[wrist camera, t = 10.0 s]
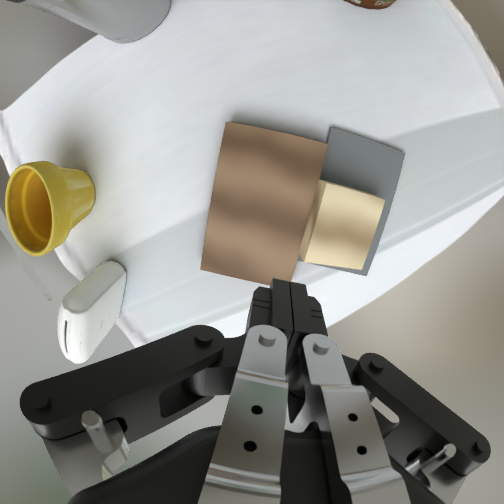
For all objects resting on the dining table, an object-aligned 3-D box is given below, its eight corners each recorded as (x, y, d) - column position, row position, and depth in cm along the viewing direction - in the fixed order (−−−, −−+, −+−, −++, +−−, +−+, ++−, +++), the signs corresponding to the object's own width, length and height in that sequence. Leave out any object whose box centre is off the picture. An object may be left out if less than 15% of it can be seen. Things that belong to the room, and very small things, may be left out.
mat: (330, 127, 25) (331, 126, 24) (403, 153, 25) (405, 153, 24) (296, 258, 31) (296, 260, 30) (365, 274, 31) (366, 276, 30)
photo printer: (120, 322, 37) (80, 376, 25) (98, 309, 37) (54, 358, 25) (131, 268, 33) (78, 321, 22) (105, 254, 33) (48, 300, 21)
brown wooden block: (229, 123, 26) (226, 121, 24) (324, 144, 26) (328, 144, 24) (204, 262, 32) (200, 269, 30) (287, 280, 32) (288, 289, 30)
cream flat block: (318, 179, 25) (326, 182, 23) (375, 195, 27) (385, 199, 25) (298, 253, 28) (304, 262, 26) (353, 261, 30) (361, 269, 28)
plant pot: (44, 179, 29) (-4, 194, 20) (87, 139, 27) (33, 144, 18) (71, 241, 33) (26, 269, 23) (118, 210, 30) (68, 235, 21)
